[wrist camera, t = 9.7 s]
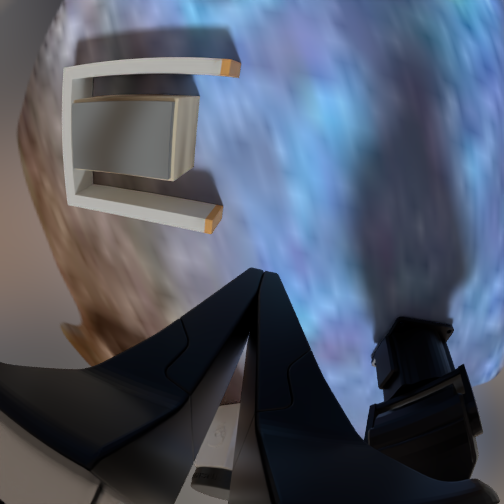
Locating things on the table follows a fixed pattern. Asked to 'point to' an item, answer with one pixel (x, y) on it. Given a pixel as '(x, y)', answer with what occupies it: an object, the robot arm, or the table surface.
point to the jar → (217, 454)
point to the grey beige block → (135, 134)
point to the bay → (127, 200)
